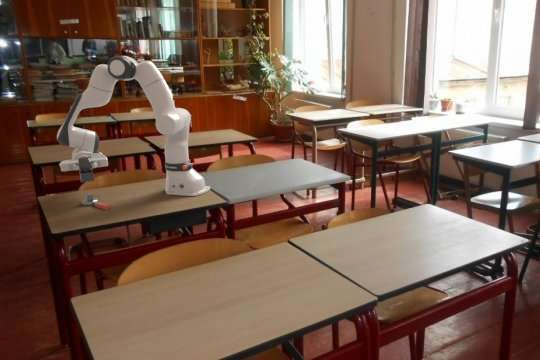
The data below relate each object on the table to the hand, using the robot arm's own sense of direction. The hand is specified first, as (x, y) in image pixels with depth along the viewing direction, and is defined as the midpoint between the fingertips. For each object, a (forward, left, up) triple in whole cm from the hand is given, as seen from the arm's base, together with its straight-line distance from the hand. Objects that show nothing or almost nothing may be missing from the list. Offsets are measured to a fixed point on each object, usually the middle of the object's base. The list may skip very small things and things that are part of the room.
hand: (85, 167), depth 209 cm
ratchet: (-4, 0, -17) cm, 18 cm away
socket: (+1, -1, -6) cm, 6 cm away
